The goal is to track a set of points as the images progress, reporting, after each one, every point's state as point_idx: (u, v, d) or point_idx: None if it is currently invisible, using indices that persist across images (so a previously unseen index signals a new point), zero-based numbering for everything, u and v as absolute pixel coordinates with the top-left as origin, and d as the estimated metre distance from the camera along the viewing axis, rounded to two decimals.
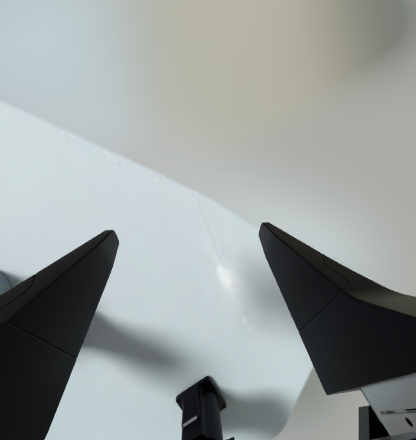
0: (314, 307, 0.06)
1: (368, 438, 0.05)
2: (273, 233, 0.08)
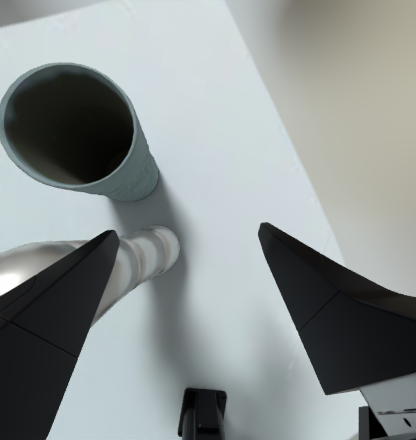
0: (313, 307, 0.06)
1: (368, 438, 0.05)
2: (272, 233, 0.08)
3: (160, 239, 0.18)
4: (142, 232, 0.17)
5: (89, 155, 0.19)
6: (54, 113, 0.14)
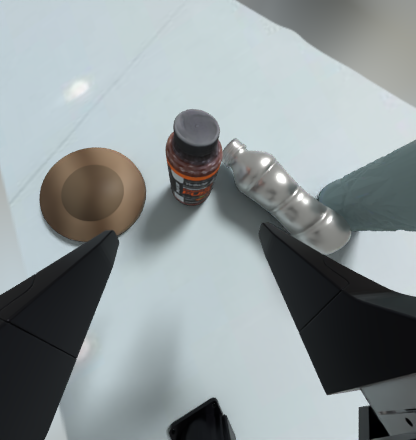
0: (314, 307, 0.06)
1: (368, 438, 0.05)
2: (273, 233, 0.08)
3: None
4: None
5: None
6: None
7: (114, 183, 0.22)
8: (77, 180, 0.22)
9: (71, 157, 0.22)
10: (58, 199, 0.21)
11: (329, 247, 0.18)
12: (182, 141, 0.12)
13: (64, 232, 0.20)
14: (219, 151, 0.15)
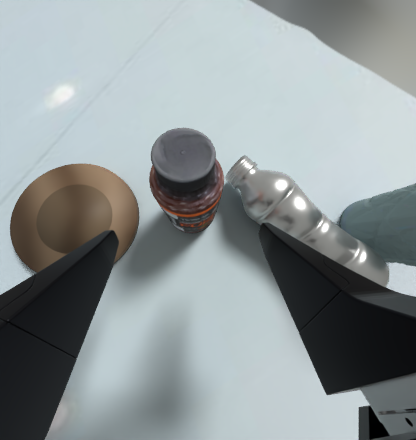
0: (314, 307, 0.06)
1: (368, 438, 0.05)
2: (273, 233, 0.08)
3: None
4: None
5: None
6: None
7: (100, 206, 0.18)
8: (57, 203, 0.18)
9: (50, 176, 0.19)
10: (33, 227, 0.17)
11: None
12: (165, 178, 0.09)
13: (39, 268, 0.17)
14: (219, 176, 0.11)
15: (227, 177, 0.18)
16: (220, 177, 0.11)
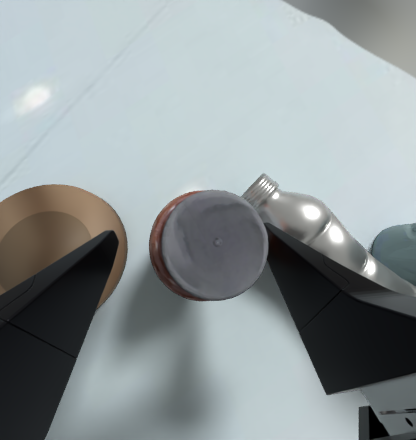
0: (314, 307, 0.06)
1: (368, 438, 0.05)
2: (273, 233, 0.08)
3: None
4: None
5: None
6: None
7: (78, 239, 0.15)
8: (23, 236, 0.14)
9: (15, 201, 0.15)
10: None
11: None
12: (193, 295, 0.05)
13: None
14: None
15: None
16: None
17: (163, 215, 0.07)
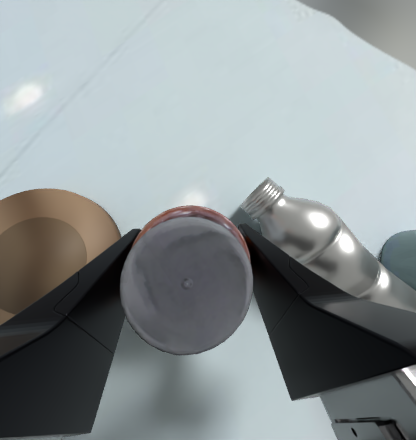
0: (279, 311, 0.06)
1: None
2: (246, 234, 0.08)
3: None
4: None
5: None
6: None
7: (71, 247, 0.14)
8: (12, 244, 0.13)
9: (3, 206, 0.14)
10: None
11: None
12: (161, 350, 0.04)
13: None
14: None
15: (244, 205, 0.13)
16: None
17: None
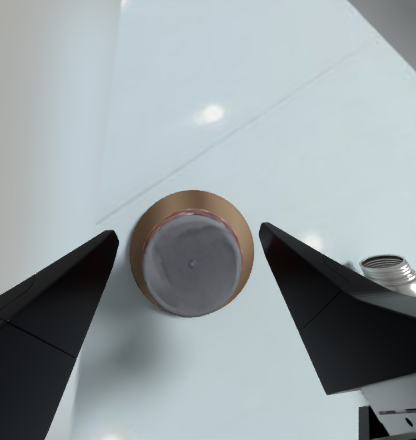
0: (314, 307, 0.06)
1: (368, 438, 0.05)
2: (273, 233, 0.08)
3: None
4: None
5: None
6: None
7: None
8: None
9: (182, 196, 0.18)
10: None
11: None
12: (173, 313, 0.06)
13: (146, 289, 0.16)
14: None
15: (374, 271, 0.16)
16: None
17: (150, 237, 0.08)
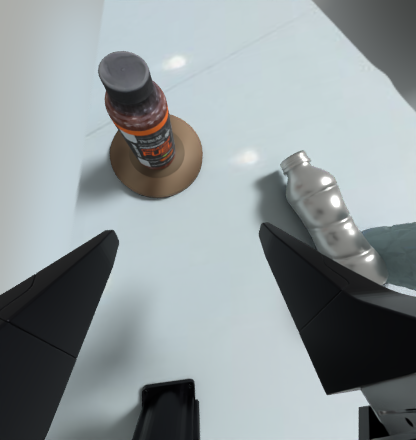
0: (314, 307, 0.06)
1: (368, 438, 0.05)
2: (273, 233, 0.08)
3: None
4: None
5: None
6: None
7: (177, 151, 0.24)
8: None
9: None
10: (127, 147, 0.23)
11: None
12: (112, 89, 0.12)
13: (121, 176, 0.22)
14: (160, 96, 0.15)
15: (284, 162, 0.22)
16: (161, 98, 0.15)
17: None
